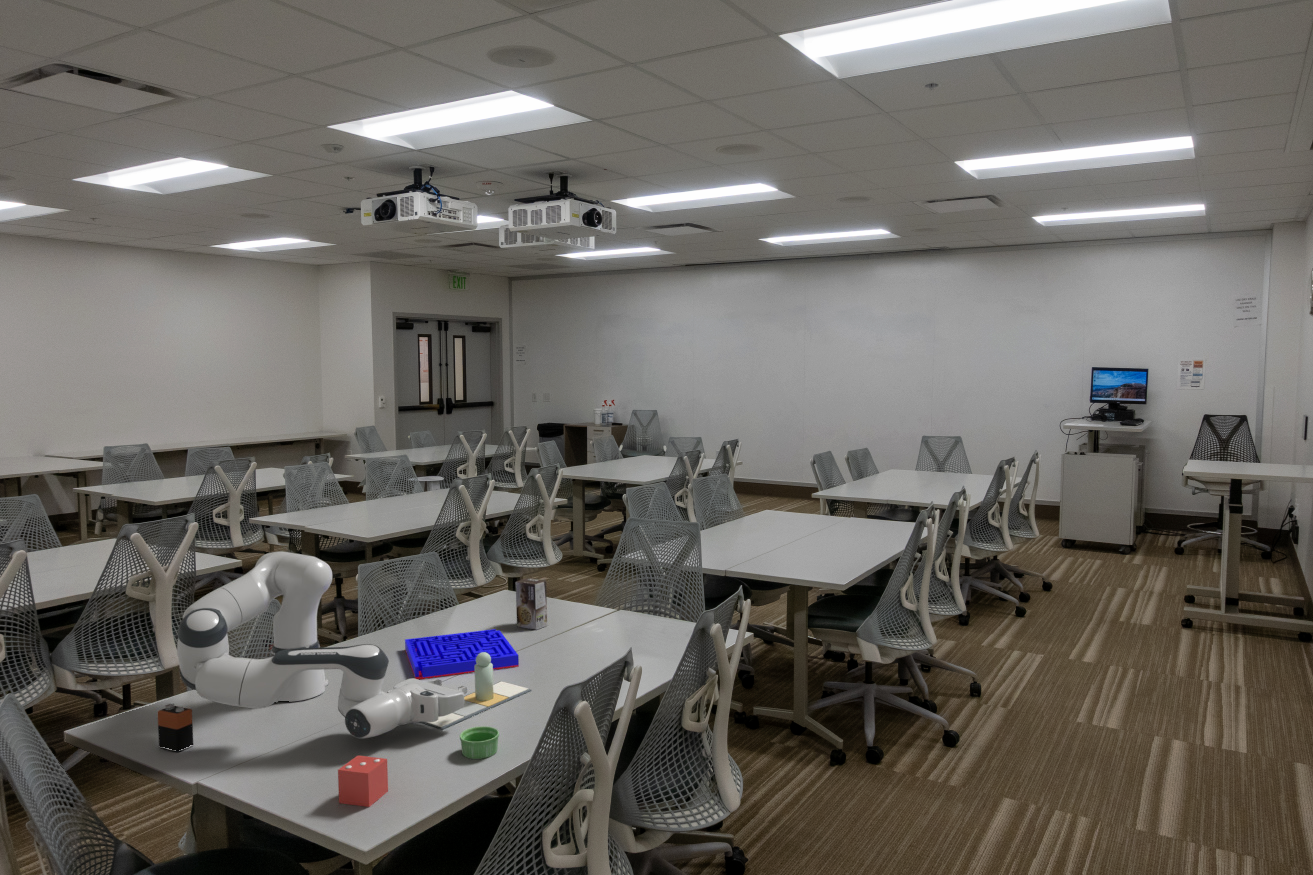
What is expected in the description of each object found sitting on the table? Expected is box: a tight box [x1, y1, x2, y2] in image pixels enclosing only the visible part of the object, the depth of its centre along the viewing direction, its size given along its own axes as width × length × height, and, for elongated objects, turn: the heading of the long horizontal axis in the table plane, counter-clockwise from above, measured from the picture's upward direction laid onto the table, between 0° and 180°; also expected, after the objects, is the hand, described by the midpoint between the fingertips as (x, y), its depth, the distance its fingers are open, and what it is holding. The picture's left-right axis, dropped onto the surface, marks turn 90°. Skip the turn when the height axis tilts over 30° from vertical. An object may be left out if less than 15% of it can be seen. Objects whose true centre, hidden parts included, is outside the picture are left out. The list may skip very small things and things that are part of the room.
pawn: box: [474, 652, 494, 701], centre depth 235 cm, size 5×5×12 cm
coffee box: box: [515, 577, 548, 631], centre depth 305 cm, size 9×6×16 cm
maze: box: [404, 628, 520, 680], centre depth 271 cm, size 30×30×4 cm
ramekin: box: [459, 725, 500, 760], centre depth 203 cm, size 9×9×4 cm
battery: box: [156, 703, 194, 751], centre depth 207 cm, size 4×7×10 cm, turn 66°
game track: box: [420, 681, 532, 730], centre depth 232 cm, size 12×32×1 cm, turn 145°
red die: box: [337, 755, 389, 808], centre depth 181 cm, size 7×7×7 cm
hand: (452, 685), depth 226 cm, fingers open, 8 cm apart
